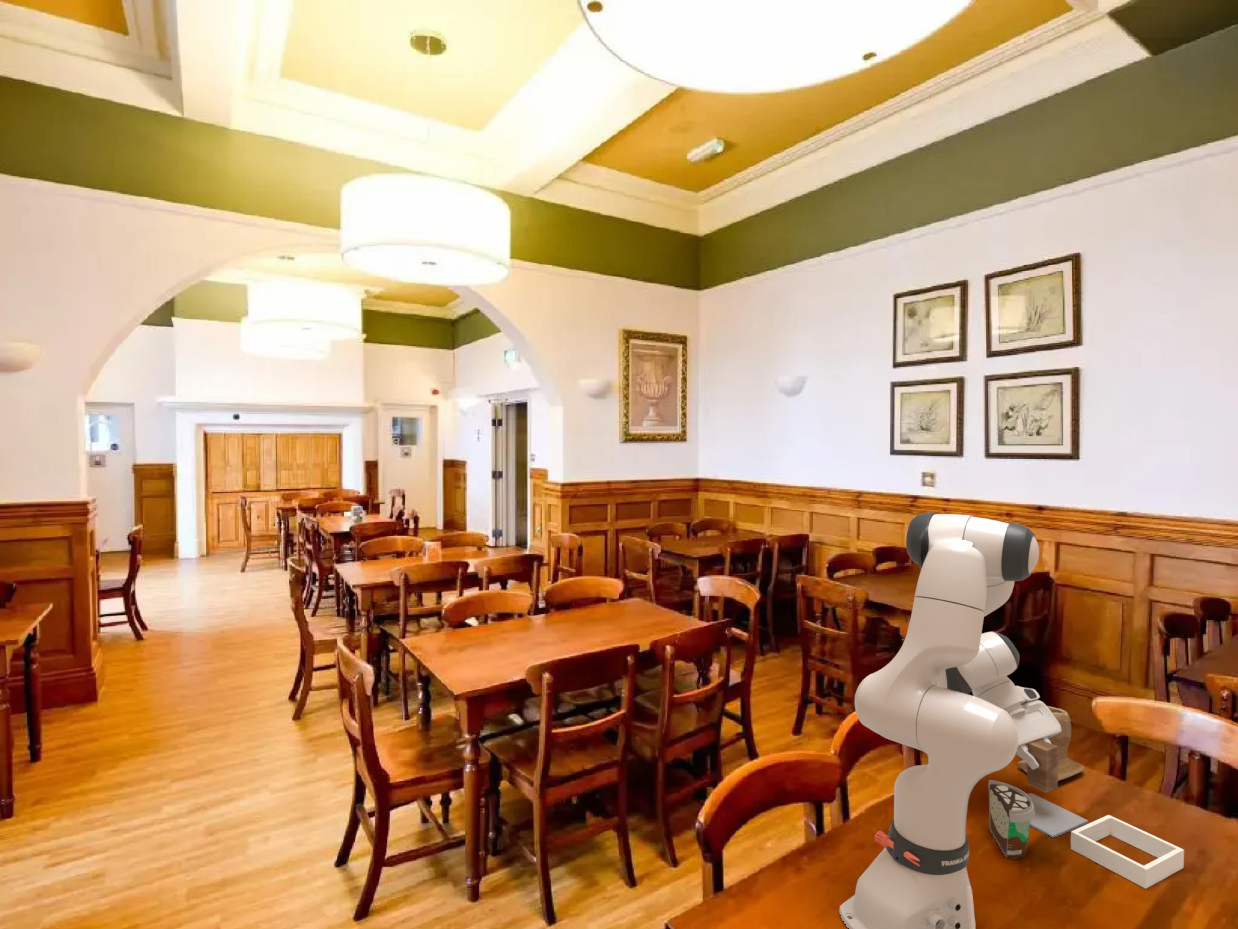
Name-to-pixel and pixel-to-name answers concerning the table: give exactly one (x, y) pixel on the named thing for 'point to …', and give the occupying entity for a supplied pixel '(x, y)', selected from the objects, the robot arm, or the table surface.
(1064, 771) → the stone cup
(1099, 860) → the tray
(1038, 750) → the walnut block
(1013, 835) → the food container
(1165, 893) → the table surface
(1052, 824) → the rubber mat
